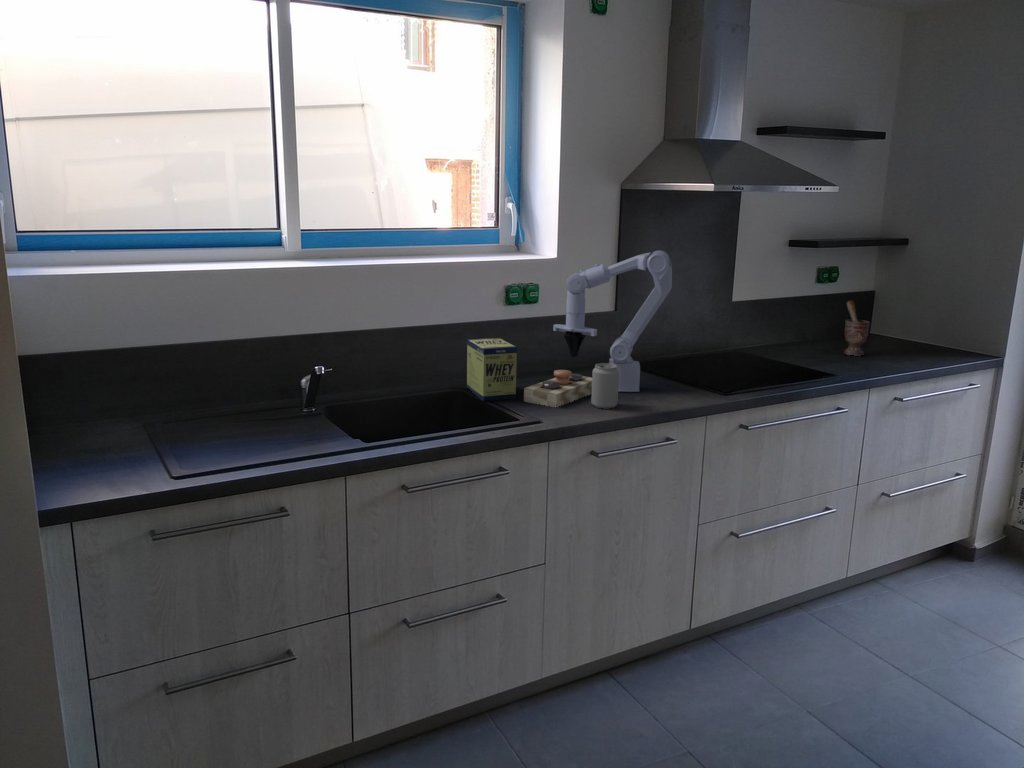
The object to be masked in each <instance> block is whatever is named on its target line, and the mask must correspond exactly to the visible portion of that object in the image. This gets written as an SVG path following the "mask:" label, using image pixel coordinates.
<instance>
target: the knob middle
mask: <svg viewBox="0 0 1024 768" xmlns="http://www.w3.org/2000/svg"><path fill="white" fill-rule="evenodd" d="M572 374H573V372H572V371H571V370H567V369H555V370H553V376H554V378H556V382H559V383H560V385H562V386H567V385H569V377H571V375H572Z"/></svg>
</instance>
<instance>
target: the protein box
mask: <svg viewBox="0 0 1024 768" xmlns="http://www.w3.org/2000/svg"><path fill="white" fill-rule="evenodd" d="M466 340H467V341H466V343H467V344H466V345H467V346H466V347H467V348H466V349H467V351H466V352H467V353H466V357H467V358H466V359H467V360H466V389H467V388H469V389H470V390H471V391H472V392H471V391H470V392H471V393H472V394H473V395H475V396H476V397H477V398H478V399H480V400H481V401H482V402H488V401H497V400H496V399H502V400H514V399H517V397H516V395H517V394H516V393H517V360H518V359H517V357H518V356H517V354H518V346H516V345H513V344H512V343H510V342H507V341H505V340H504V339H503V338H500V337H498V338H497V337H496V338H495V337H494V338H493V337H492V338H491V337H490V338H472V339H469V338H468V339H466Z"/></svg>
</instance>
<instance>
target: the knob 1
mask: <svg viewBox="0 0 1024 768" xmlns="http://www.w3.org/2000/svg"><path fill="white" fill-rule="evenodd" d="M542 388H544V389H550V390H555V389H559V388H560V383H559V382H555V381H547V380H545V382H544V381H542Z"/></svg>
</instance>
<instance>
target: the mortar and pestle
mask: <svg viewBox="0 0 1024 768" xmlns="http://www.w3.org/2000/svg"><path fill="white" fill-rule="evenodd" d="M846 307H847V311H848V313H849V315H850V319H845V321H844V323H845V324H844V338H845V341H846V343H848V346H847V348H845V349H844V350H843V355H845V354H846V356H850V355H854V356H853V357H855V356H858V357H862V356H861V355H864V356H865V352H864V350H863V348H862V345H863V344H864V343H866V342H867V338H868V336H869V330H870V326H871V322H870V321H868V320H863V319H858V316H857V310H856V304H855V302H854V300H847V302H846Z"/></svg>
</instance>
